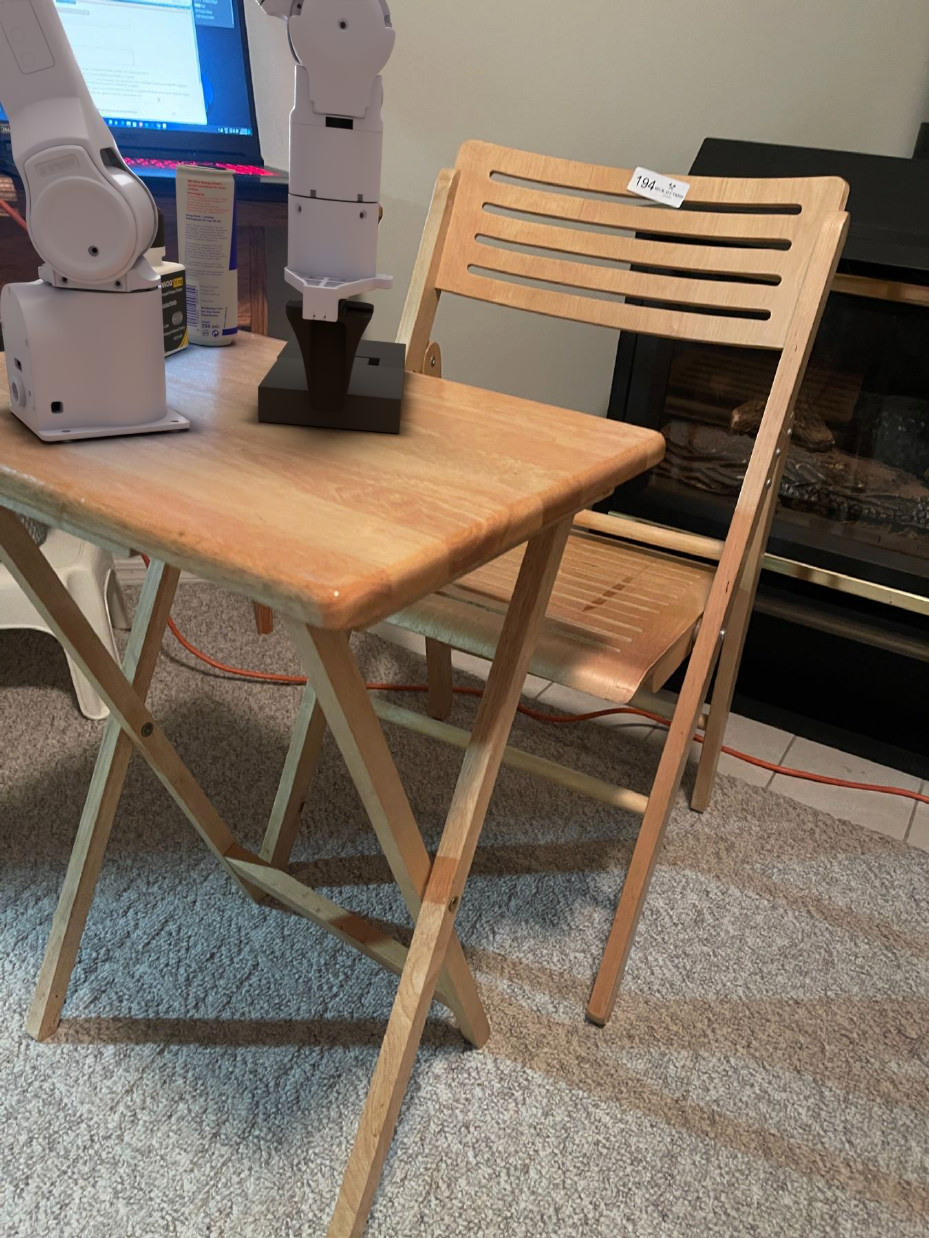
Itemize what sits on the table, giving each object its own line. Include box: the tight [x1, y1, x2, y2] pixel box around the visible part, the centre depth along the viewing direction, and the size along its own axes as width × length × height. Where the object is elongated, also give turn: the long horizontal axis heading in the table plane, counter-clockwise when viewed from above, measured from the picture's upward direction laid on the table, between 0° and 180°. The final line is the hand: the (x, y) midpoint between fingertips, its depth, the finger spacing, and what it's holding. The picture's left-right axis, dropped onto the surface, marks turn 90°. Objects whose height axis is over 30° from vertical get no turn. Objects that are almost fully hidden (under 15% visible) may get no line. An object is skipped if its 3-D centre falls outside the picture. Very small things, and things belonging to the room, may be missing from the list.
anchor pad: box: [276, 332, 407, 370], centre depth 79 cm, size 10×10×2 cm
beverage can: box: [175, 163, 239, 347], centre depth 85 cm, size 5×5×15 cm
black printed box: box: [143, 206, 189, 358], centre depth 79 cm, size 7×7×12 cm
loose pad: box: [257, 357, 406, 434], centre depth 72 cm, size 12×10×2 cm
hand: (327, 410), depth 65 cm, fingers closed
